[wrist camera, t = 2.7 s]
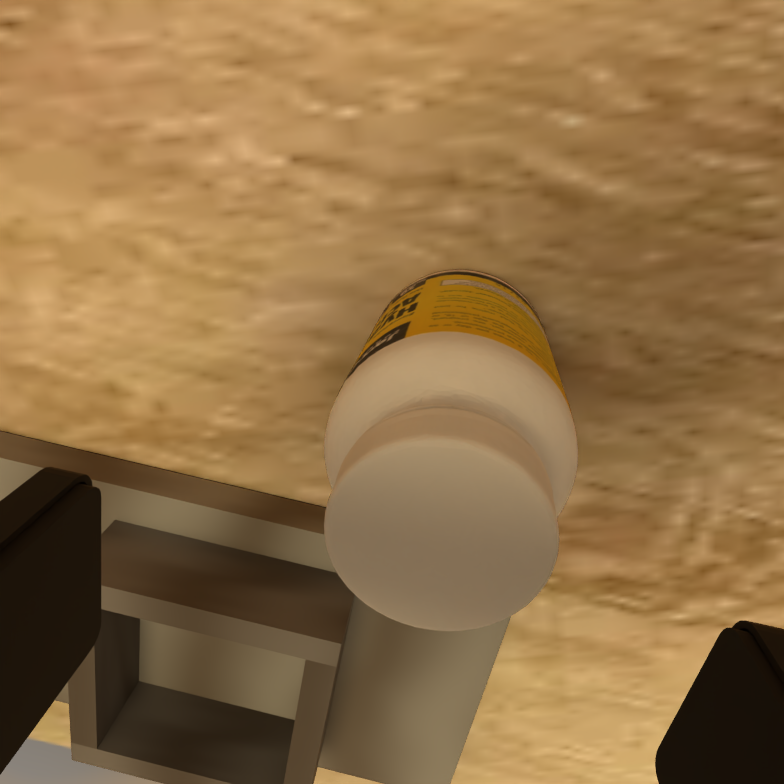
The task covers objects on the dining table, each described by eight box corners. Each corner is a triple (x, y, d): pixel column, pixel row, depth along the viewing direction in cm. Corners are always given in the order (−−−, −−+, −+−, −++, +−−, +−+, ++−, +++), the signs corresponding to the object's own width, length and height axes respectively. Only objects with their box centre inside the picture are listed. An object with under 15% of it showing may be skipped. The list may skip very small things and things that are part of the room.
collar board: (520, 553, 21) (531, 651, 17) (446, 764, 26) (441, 880, 22) (-4, 430, 22) (-111, 496, 18) (19, 657, 27) (-62, 749, 23)
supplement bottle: (410, 237, 18) (345, 340, 9) (576, 308, 18) (680, 479, 9) (349, 390, 20) (248, 597, 11) (497, 451, 20) (518, 704, 11)
